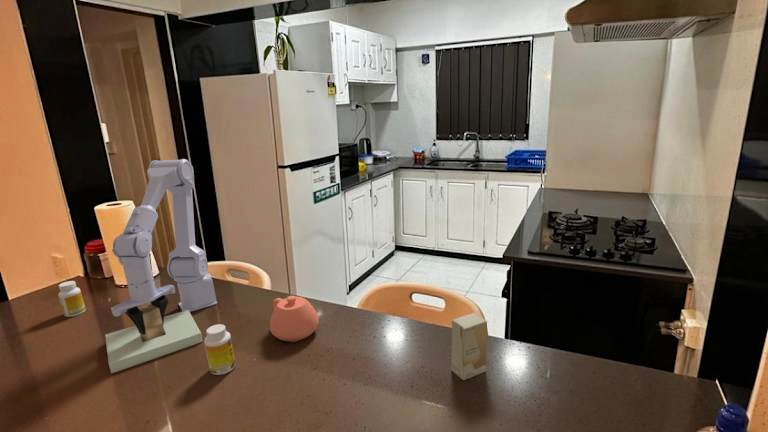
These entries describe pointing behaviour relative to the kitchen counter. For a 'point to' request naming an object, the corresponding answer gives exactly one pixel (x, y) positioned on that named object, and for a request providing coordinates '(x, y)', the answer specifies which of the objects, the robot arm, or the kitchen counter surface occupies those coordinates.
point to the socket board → (151, 342)
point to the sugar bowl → (293, 319)
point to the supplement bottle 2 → (219, 350)
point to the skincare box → (469, 345)
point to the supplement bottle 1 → (71, 299)
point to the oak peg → (152, 322)
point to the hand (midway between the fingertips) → (151, 328)
